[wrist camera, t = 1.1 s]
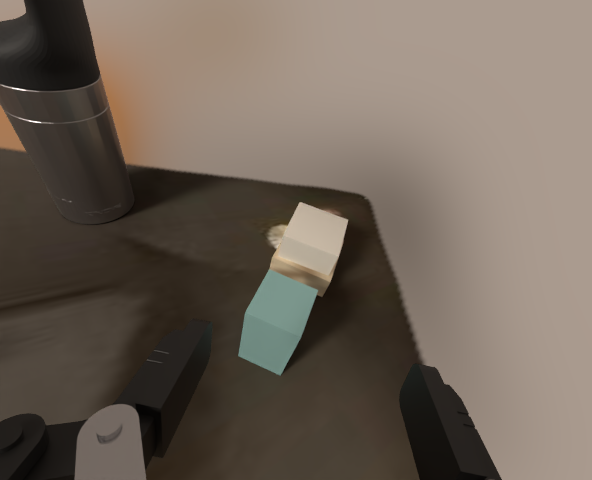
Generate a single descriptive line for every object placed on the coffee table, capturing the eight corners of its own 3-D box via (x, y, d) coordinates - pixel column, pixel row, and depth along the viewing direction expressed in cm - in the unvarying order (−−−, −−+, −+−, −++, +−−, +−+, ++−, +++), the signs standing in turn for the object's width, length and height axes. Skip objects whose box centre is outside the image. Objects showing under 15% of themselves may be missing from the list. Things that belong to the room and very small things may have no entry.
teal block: (238, 355, 30) (245, 312, 23) (258, 317, 33) (269, 269, 26) (280, 375, 30) (301, 337, 22) (296, 334, 33) (318, 290, 26)
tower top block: (277, 256, 36) (283, 235, 33) (293, 222, 41) (299, 201, 38) (328, 275, 35) (338, 256, 32) (338, 239, 40) (348, 220, 37)
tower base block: (268, 275, 38) (272, 257, 35) (288, 238, 44) (293, 220, 41) (321, 298, 38) (330, 282, 35) (335, 257, 43) (344, 240, 40)
